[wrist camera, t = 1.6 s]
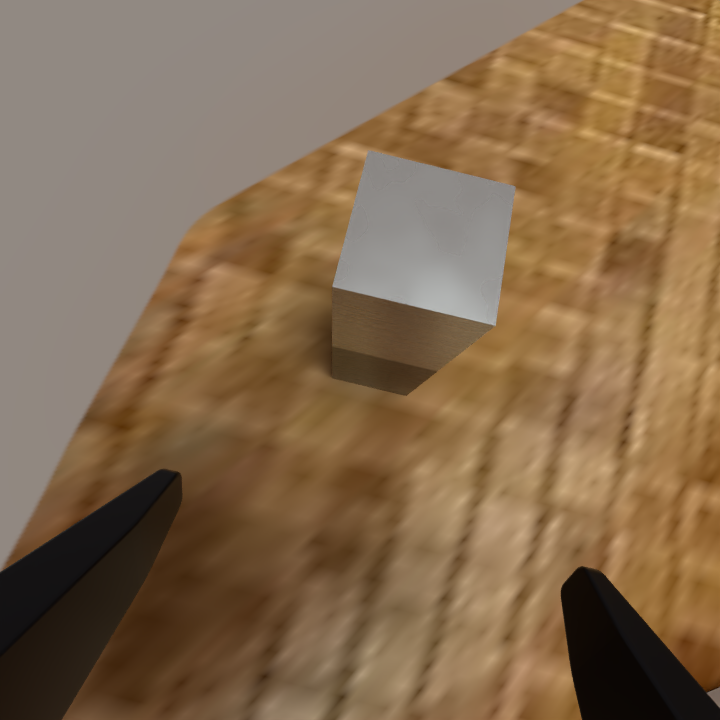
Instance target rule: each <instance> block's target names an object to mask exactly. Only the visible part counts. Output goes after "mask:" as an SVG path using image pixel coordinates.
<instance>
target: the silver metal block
mask: <svg viewBox="0 0 720 720" xmlns="http://www.w3.org/2000/svg"><path fill="white" fill-rule="evenodd" d="M514 193H515V186H512V185H508V184H504V183H500V182H496V181H492V180H488V179H484V178H480V177H476V176H471V175H467V174H463V173H459V172H455V171H451V170H447V169H443V168H439V167H435V166H431V165H427V164H423V163H418V162H414V161H410V160H406V159H402V158H398V157H394V156H390V155H386V154H382V153H378V152H374V151H370V150H368V153H367V157H366V161H365V165H364V169H363V172H362V176H361V180H360V184H359V188H358V191H357V195H356V199H355V203H354V207H353V210H352V214H351V218H350V222H349V225H348V229H347V233H346V237H345V241H344V244H343V248H342V252H341V256H340V260H339V263H338V267H337V271H336V275H335V279H334V282H333V286H332V378H334V379H338V380H342V381H346V382H351V383H355V384H359V385H363V386H368V387H372V388H376V389H380V390H385V391H389V392H393V393H397V394H402V395H406V396H407V395H408V394H409V393H410V392H412V391H413V390H414V389H416V388H417V387H418V386H419V385H421V384H422V383H423V382H424V381H426V380H427V379H428V378H430V377H431V376H432V375H433V374H435V373H436V372H437V371H438V370H440V369H441V368H442V367H444V366H445V365H446V364H447V363H449V362H450V361H451V360H452V359H454V358H455V357H456V356H458V355H459V354H460V353H461V352H463V351H464V350H465V349H466V348H468V347H469V346H470V345H472V344H473V343H474V342H475V341H477V340H478V339H479V338H480V337H482V336H483V335H484V334H486V333H487V332H488V331H489V330H491V329H492V328H493V327H495V325H496V319H497V312H498V305H499V298H500V291H501V284H502V277H503V270H504V263H505V256H506V249H507V242H508V235H509V228H510V221H511V214H512V207H513V200H514Z"/></svg>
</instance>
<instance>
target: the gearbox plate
mask: <svg viewBox="0 0 720 720" xmlns="http://www.w3.org/2000/svg"><path fill="white" fill-rule="evenodd" d="M707 694H708V695H709V696H710V697H711V698H712V699H713V701H714V702H715V703H716V704H717V705H718V706H719V708H720V687H719V688H717V689H715V690H712V691H710V692H707Z"/></svg>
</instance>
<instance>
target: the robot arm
mask: <svg viewBox="0 0 720 720" xmlns="http://www.w3.org/2000/svg"><path fill="white" fill-rule="evenodd" d="M181 502H182V477H181V474H180V473H179V472H177V471H173V470H168V469H160V470H158V471H156V472H155V473H153V474H152V475H150V476H149V477H147V478H146V479H144V480H143V481H141V482H139V483H138V484H136V485H135V486H133V487H132V488H130V489H129V490H127V491H125V492H124V493H122V494H121V495H119V496H118V497H116V498H115V499H113V500H111V501H110V502H108V503H107V504H105V505H104V506H102V507H101V508H99V509H98V510H96V511H94V512H93V513H91V514H90V515H88V516H87V517H85V518H84V519H82V520H80V521H79V522H77V523H76V524H74V525H73V526H71V527H70V528H68V529H67V530H65V531H63V532H62V533H60V534H59V535H57V536H56V537H54V538H53V539H51V540H49V541H48V542H46V543H45V544H43V545H42V546H40V547H39V548H37V549H36V550H34V551H32V552H31V553H29V554H28V555H26V556H25V557H23V558H22V559H20V560H18V561H17V562H15V563H14V564H12V565H11V566H9V567H8V568H6V569H5V570H3V571H1V572H0V720H62V718H63V717H64V715H65V713H66V712H67V710H68V708H69V707H70V705H71V703H72V702H73V700H74V698H75V697H76V695H77V693H78V692H79V690H80V688H81V687H82V685H83V683H84V681H85V680H86V678H87V676H88V675H89V673H90V671H91V670H92V668H93V666H94V665H95V663H96V661H97V660H98V658H99V656H100V655H101V653H102V651H103V650H104V648H105V646H106V645H107V643H108V641H109V640H110V638H111V636H112V635H113V633H114V631H115V630H116V628H117V626H118V625H119V623H120V621H121V620H122V618H123V616H124V614H125V613H126V611H127V609H128V608H129V606H130V604H131V603H132V601H133V599H134V598H135V596H136V594H137V593H138V591H139V589H140V588H141V586H142V584H143V582H144V581H145V579H146V577H147V575H148V573H149V571H150V569H151V567H152V565H153V563H154V561H155V559H156V556H157V554H158V552H159V550H160V548H161V546H162V544H163V542H164V539H165V537H166V535H167V533H168V531H169V529H170V527H171V524H172V522H173V520H174V518H175V516H176V514H177V512H178V510H179V507H180V505H181ZM561 602H562V609H563V616H564V623H565V631H566V638H567V645H568V653H569V660H570V666H571V672H572V677H573V682H574V687H575V691H576V695H577V700H578V704H579V708H580V713H581V717H582V720H720V708H719V706H718V705H717V704H716V703H715V702H714V701H713V699H712V698H711V697H710V696H709V695H708V694H707V693H706V691H705V690H704V689H703V688H702V687H701V686H700V685H699V683H698V682H697V681H696V680H695V679H694V678H693V676H692V675H691V674H690V673H689V672H688V671H687V670H686V668H685V667H684V666H683V665H682V664H681V663H680V661H679V660H678V659H677V658H676V657H675V656H674V655H673V653H672V652H671V651H670V650H669V649H668V648H667V646H666V645H665V644H664V643H663V642H662V641H661V640H660V638H659V637H658V636H657V635H656V634H655V633H654V631H653V630H652V629H651V628H650V627H649V626H648V625H647V623H646V622H645V621H644V620H643V619H642V618H641V617H640V615H639V614H638V613H637V612H636V611H635V610H634V608H633V607H632V606H631V605H630V604H629V603H628V602H627V600H626V599H625V598H624V597H623V596H622V595H621V593H620V592H619V591H618V590H617V589H616V588H615V587H614V585H613V584H612V583H611V582H610V581H609V580H608V578H607V577H606V576H605V575H604V574H603V573H602V572H601V571H599V570H596V569H593V568H588V567H584V566H581V567H578V568H577V569H576V570H575V571H574V572H573V573H572V575H571V576H570V577H569V578H568V579H567V580H566V581H565V582H564V584H563V585H562V588H561Z"/></svg>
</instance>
